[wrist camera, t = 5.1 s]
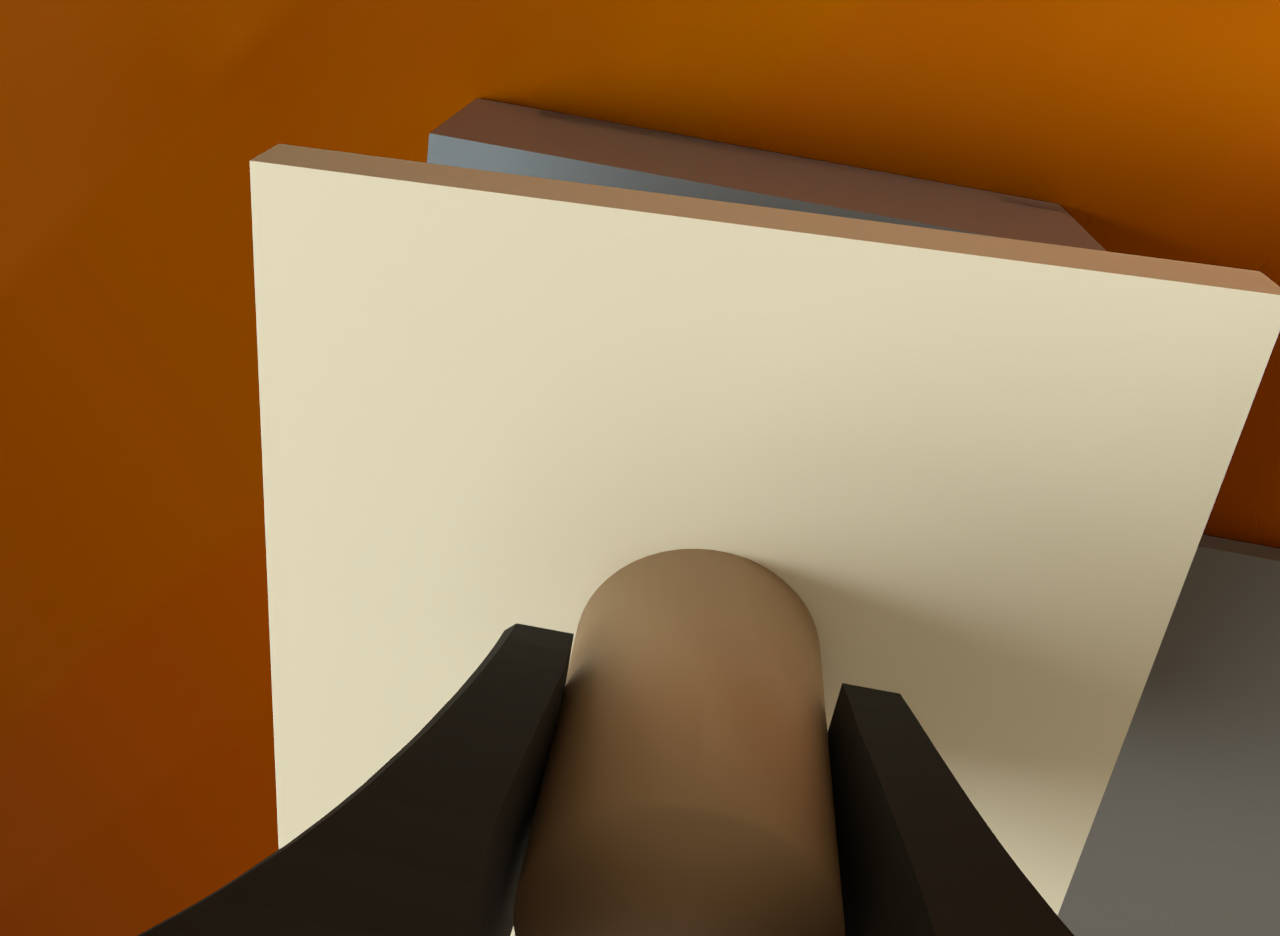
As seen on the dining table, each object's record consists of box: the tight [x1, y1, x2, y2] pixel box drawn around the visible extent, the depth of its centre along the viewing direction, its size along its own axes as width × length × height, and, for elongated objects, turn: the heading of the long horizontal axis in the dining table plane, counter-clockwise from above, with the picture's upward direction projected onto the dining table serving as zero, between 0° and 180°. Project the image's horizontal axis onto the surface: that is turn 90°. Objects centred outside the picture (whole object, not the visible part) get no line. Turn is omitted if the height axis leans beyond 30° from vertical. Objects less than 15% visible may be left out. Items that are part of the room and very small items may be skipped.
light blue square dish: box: [427, 98, 1106, 251], centre depth 19 cm, size 9×9×3 cm
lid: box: [250, 144, 1280, 936], centre depth 12 cm, size 10×10×5 cm
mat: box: [1058, 535, 1280, 936], centre depth 22 cm, size 11×11×1 cm
